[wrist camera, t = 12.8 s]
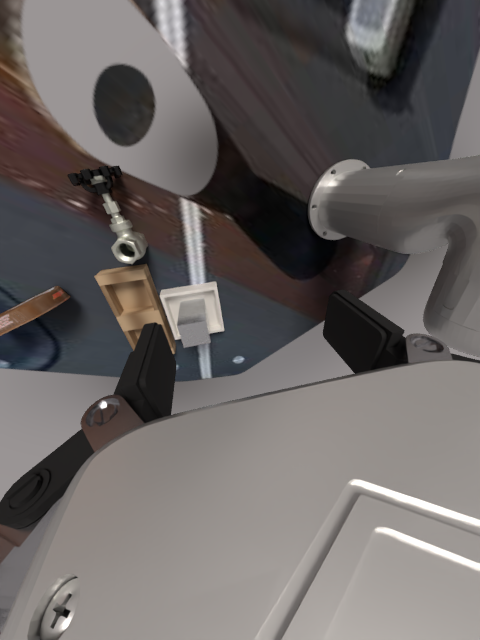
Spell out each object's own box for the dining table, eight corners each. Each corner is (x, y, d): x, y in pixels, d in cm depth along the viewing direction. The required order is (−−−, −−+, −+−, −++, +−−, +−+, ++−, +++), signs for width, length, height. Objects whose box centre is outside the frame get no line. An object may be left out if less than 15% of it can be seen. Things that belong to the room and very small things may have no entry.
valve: (160, 249, 36) (125, 167, 29) (153, 260, 31) (109, 163, 24) (124, 258, 36) (81, 178, 29) (111, 271, 31) (54, 175, 24)
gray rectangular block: (204, 297, 42) (205, 320, 35) (208, 317, 45) (210, 342, 38) (180, 301, 42) (176, 326, 34) (186, 321, 45) (184, 347, 37)
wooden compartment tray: (146, 263, 37) (143, 269, 35) (175, 345, 48) (174, 353, 46) (101, 270, 36) (94, 276, 34) (141, 351, 47) (138, 360, 45)
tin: (13, 323, 39) (-27, 353, 32) (-4, 311, 37) (-50, 339, 30) (80, 291, 38) (54, 314, 31) (65, 277, 36) (34, 298, 29)
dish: (215, 281, 41) (216, 286, 39) (223, 324, 47) (224, 330, 45) (161, 289, 40) (159, 295, 38) (176, 333, 46) (175, 339, 44)
